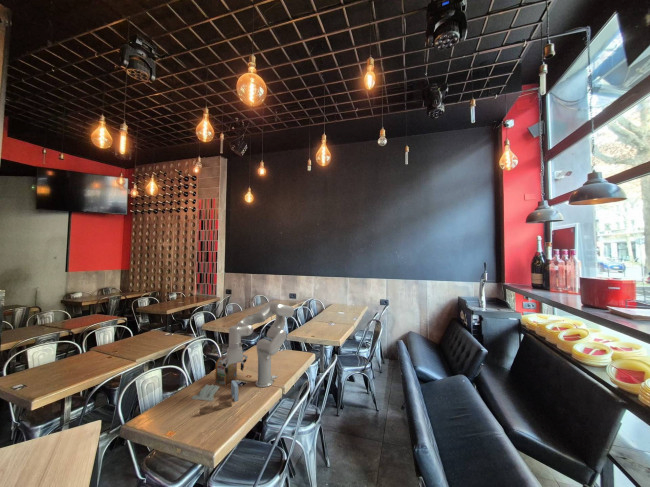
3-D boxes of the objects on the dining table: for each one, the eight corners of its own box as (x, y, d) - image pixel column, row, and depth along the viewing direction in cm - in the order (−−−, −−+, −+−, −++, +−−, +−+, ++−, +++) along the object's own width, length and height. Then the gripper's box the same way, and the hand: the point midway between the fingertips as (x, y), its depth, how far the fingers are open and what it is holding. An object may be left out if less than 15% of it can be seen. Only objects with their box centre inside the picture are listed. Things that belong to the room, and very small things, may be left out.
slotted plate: (231, 394, 175) (231, 381, 176) (234, 393, 176) (234, 380, 177) (234, 401, 167) (234, 387, 167) (238, 400, 168) (238, 386, 168)
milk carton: (236, 379, 197) (236, 354, 198) (225, 386, 187) (225, 359, 188) (226, 377, 201) (226, 352, 202) (215, 382, 192) (215, 356, 193)
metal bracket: (203, 381, 183) (222, 383, 180) (205, 388, 184) (224, 390, 181) (189, 397, 169) (210, 400, 166) (191, 405, 170) (211, 407, 167)
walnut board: (231, 405, 162) (231, 398, 162) (231, 406, 161) (231, 399, 161) (199, 414, 153) (199, 407, 153) (199, 416, 152) (199, 409, 152)
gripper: (246, 341, 181) (246, 366, 180) (220, 345, 172) (219, 372, 171) (249, 344, 175) (249, 370, 173) (222, 349, 165) (221, 376, 164)
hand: (234, 371), depth 172 cm, fingers open, 9 cm apart
